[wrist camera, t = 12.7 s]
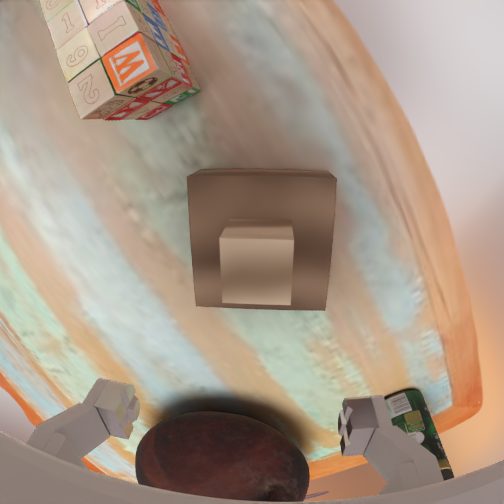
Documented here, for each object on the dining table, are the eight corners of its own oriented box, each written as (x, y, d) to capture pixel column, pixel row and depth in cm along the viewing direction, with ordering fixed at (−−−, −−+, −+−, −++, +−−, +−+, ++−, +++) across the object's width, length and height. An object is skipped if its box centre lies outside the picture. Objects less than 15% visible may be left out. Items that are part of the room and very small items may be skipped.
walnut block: (201, 169, 30) (187, 176, 25) (327, 171, 29) (336, 178, 24) (206, 282, 34) (196, 306, 30) (319, 285, 33) (325, 310, 29)
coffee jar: (423, 416, 41) (455, 509, 23) (378, 432, 42) (398, 529, 25) (422, 379, 38) (464, 485, 20) (370, 398, 39) (396, 511, 22)
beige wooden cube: (229, 218, 26) (219, 238, 22) (291, 219, 26) (294, 240, 21) (231, 273, 28) (222, 302, 23) (288, 275, 28) (290, 305, 23)
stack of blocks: (87, -20, 22) (25, -54, 11) (133, -49, 21) (81, -97, 9) (147, 121, 29) (78, 121, 17) (203, 91, 27) (157, 69, 16)
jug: (326, 458, 45) (333, 585, 22) (201, 477, 51) (179, 582, 28) (270, 365, 38) (257, 562, 15) (122, 400, 43) (60, 528, 20)
